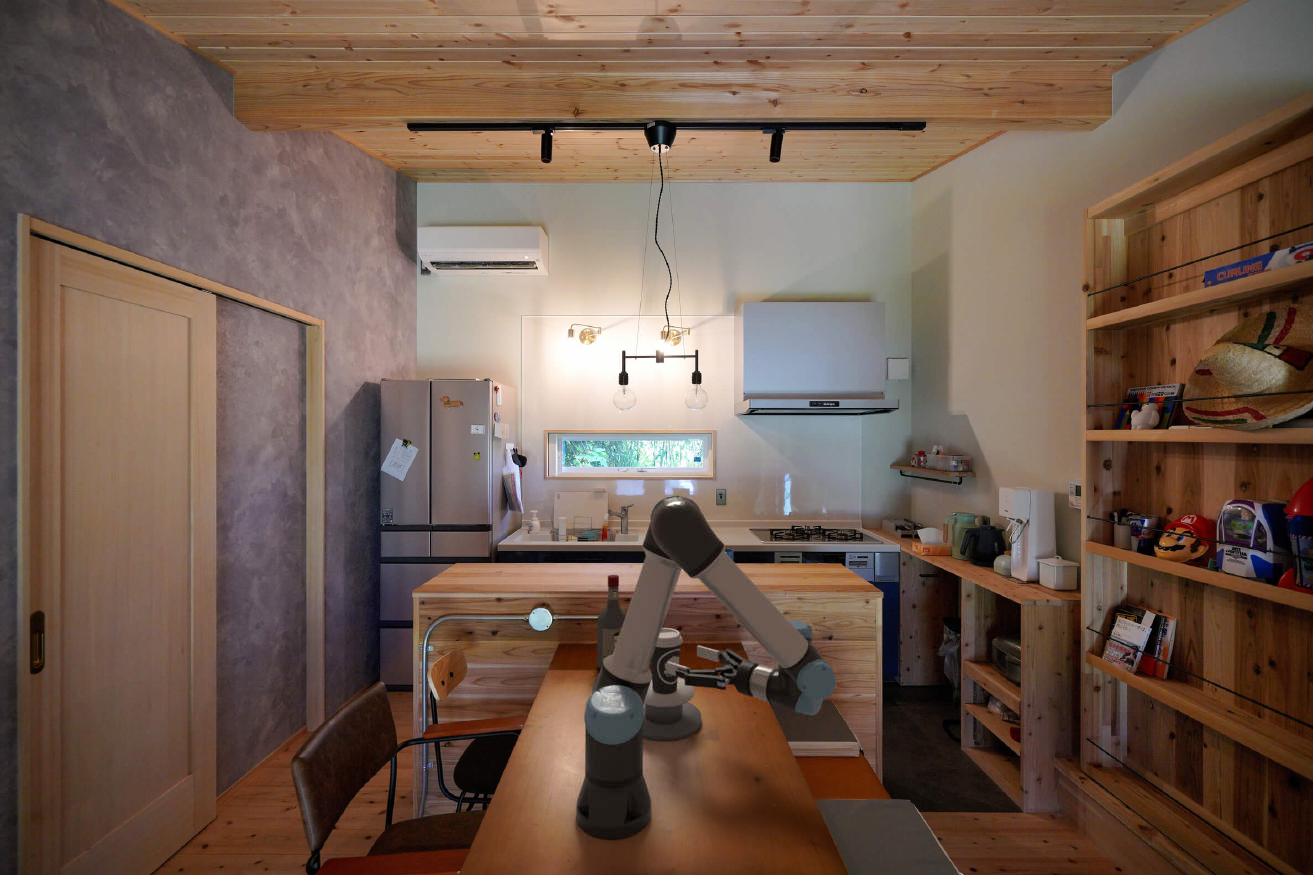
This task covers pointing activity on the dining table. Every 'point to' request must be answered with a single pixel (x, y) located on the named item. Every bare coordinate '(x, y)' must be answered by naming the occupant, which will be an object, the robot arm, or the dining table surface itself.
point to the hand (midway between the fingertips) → (683, 658)
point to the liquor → (609, 622)
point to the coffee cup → (665, 661)
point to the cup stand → (670, 714)
